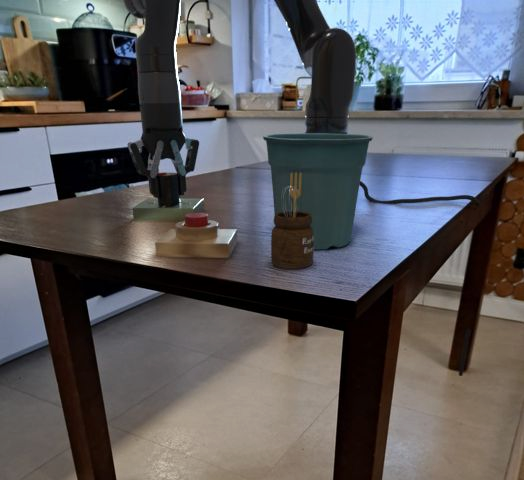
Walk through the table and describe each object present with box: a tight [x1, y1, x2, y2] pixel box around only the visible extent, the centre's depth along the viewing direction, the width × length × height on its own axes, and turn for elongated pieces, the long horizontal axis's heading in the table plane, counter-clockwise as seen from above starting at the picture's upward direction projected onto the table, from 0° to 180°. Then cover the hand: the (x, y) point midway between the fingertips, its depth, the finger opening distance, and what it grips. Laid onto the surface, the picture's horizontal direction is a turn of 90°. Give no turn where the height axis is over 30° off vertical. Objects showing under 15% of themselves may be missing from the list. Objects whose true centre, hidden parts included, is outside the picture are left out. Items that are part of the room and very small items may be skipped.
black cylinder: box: [156, 171, 181, 205], centre depth 102 cm, size 4×4×6 cm
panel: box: [131, 197, 205, 222], centre depth 104 cm, size 12×10×3 cm
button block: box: [154, 219, 238, 259], centre depth 80 cm, size 11×9×4 cm
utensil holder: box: [270, 173, 315, 271], centre depth 71 cm, size 6×6×12 cm
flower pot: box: [262, 132, 374, 250], centre depth 81 cm, size 16×16×16 cm
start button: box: [184, 212, 209, 227], centre depth 79 cm, size 4×4×2 cm
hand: (168, 195), depth 102 cm, fingers closed on black cylinder, 4 cm apart
